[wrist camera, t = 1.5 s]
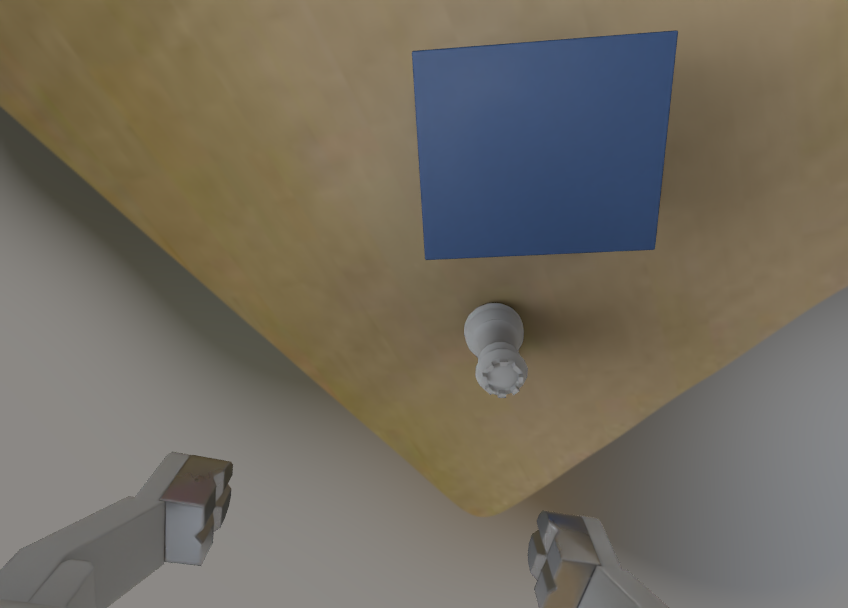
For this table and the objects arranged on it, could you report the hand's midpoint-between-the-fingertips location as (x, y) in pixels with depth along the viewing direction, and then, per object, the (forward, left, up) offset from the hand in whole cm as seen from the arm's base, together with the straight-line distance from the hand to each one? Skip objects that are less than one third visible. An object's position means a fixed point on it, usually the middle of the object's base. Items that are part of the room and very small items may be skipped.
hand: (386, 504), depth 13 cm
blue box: (-6, -7, -24) cm, 26 cm away
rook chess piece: (-4, +6, -25) cm, 26 cm away
